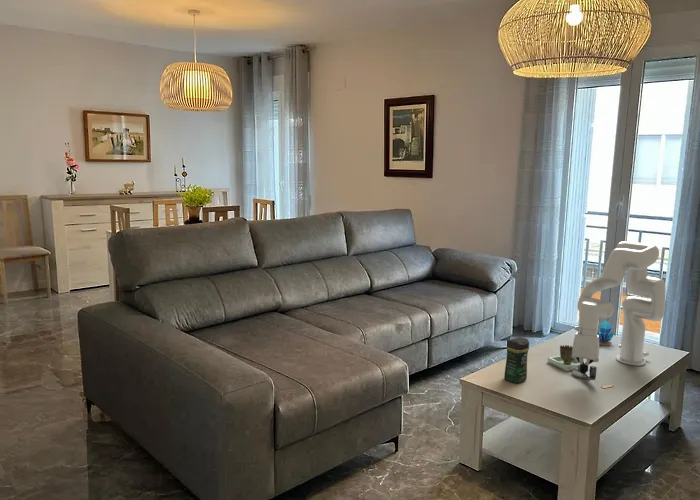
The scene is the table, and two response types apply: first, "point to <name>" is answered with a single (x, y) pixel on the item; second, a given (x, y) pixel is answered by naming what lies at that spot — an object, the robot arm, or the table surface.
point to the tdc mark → (607, 386)
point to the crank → (592, 373)
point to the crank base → (578, 374)
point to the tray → (559, 363)
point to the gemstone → (605, 333)
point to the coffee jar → (516, 360)
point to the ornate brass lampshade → (566, 354)
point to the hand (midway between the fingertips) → (583, 372)
